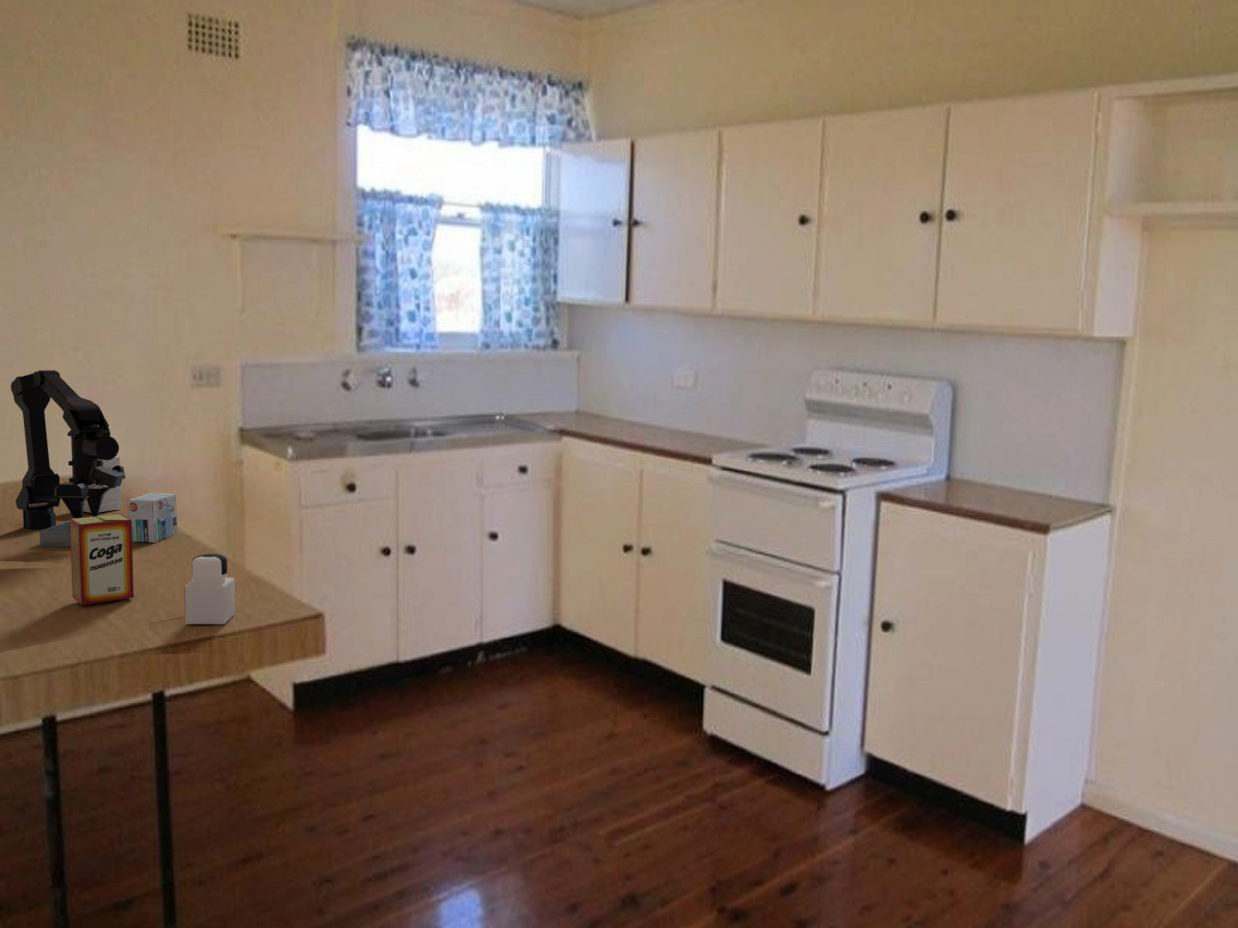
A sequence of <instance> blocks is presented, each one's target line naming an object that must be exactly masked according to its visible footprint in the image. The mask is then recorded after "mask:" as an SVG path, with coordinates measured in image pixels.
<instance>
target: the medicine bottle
mask: <svg viewBox="0 0 1238 928" xmlns="http://www.w3.org/2000/svg"><path fill="white" fill-rule="evenodd" d="M191 578H192V581H190V582H189V583H188V584H186V585H185V586H184V621H185V624H186V625H226V624H227V623H228V622H229V620H230V619H231V618H232V617H233V616H234V615H235V614H236V593H235V592H236V589H235V588H236V587H235V584H236V583H235V578H234V577H228V558H227V557H226V556H224V555H222V554H218V553H205V554H200V555H197V556H195V557H194V558H192V560H191Z"/></svg>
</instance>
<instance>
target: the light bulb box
mask: <svg viewBox="0 0 1238 928" xmlns="http://www.w3.org/2000/svg"><path fill="white" fill-rule="evenodd" d="M177 510H178V509H177V494H176V493H166V492H165V493H162V492H150V493H146V494H144V495H140V496H138V497H133V498H131V499H128V500H127V514H128V515H127V516H128V517H127V518H129V519H131V521H132V543H151V544H152V543H154V544H155V543H157V542H161V541H163V540H165V538H166V539H168V538H167V537H169V538H170V536H171V535H174V534H176V533H177V532H178V517H177V516H178V515H177V514H178V513H177V512H178V511H177ZM176 535H177V534H176ZM174 536H175V535H174ZM171 537H172V536H171Z"/></svg>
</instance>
